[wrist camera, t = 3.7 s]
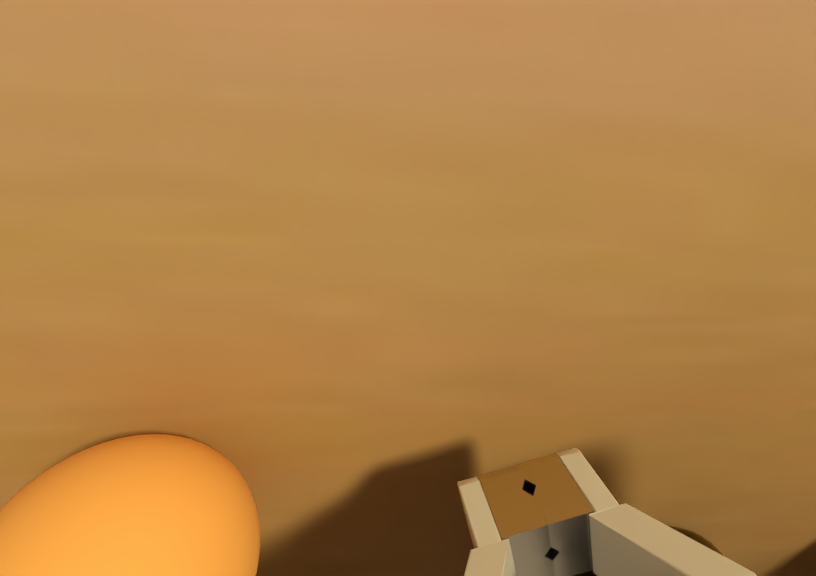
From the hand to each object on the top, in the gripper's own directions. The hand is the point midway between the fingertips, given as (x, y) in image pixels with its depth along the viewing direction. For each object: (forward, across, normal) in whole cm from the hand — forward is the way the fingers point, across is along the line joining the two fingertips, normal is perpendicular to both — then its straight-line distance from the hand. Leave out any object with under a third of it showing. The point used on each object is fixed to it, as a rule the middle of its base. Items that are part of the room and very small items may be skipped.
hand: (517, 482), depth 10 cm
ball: (0, +9, -1) cm, 9 cm away
